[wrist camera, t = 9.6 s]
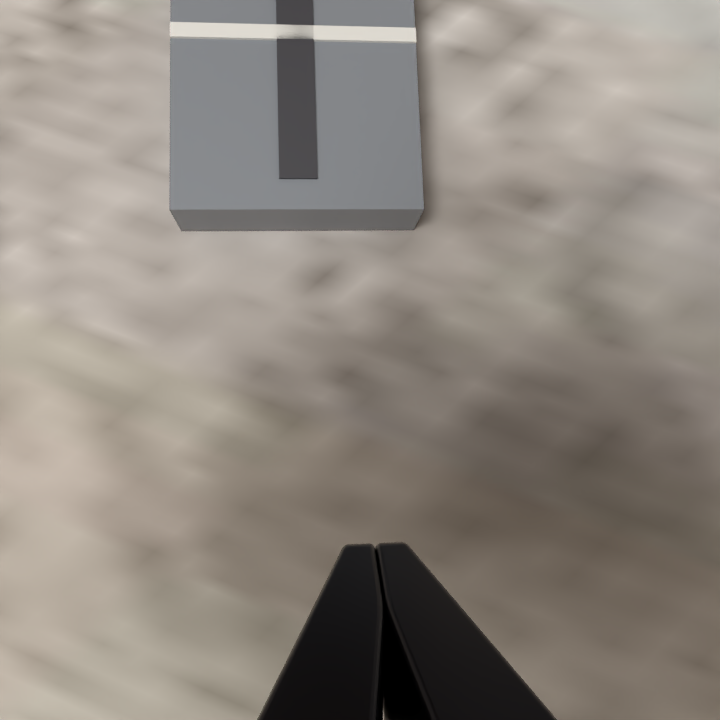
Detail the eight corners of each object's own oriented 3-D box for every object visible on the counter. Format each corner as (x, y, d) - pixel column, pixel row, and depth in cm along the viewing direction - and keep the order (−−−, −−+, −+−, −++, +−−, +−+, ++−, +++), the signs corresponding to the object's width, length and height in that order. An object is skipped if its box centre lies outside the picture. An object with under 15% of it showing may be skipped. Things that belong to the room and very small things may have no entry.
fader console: (413, 230, 23) (424, 207, 21) (181, 230, 22) (168, 208, 20) (396, -149, 25) (404, -204, 23) (182, -159, 24) (170, -217, 22)
